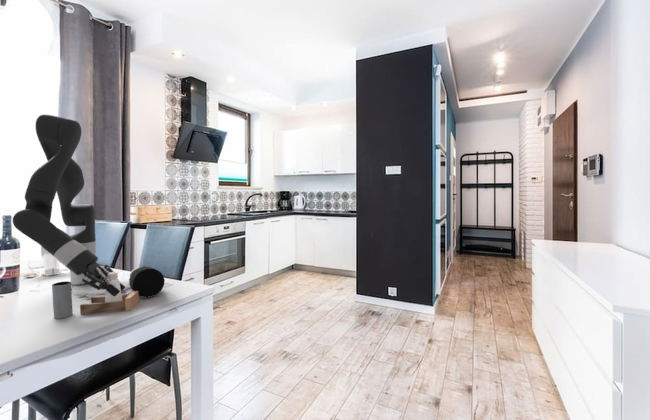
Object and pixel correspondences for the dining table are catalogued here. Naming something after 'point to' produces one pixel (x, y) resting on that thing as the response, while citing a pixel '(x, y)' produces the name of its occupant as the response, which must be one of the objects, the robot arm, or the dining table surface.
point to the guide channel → (110, 304)
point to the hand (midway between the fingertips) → (120, 291)
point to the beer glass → (50, 263)
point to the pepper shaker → (115, 282)
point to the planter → (62, 299)
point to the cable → (146, 281)
